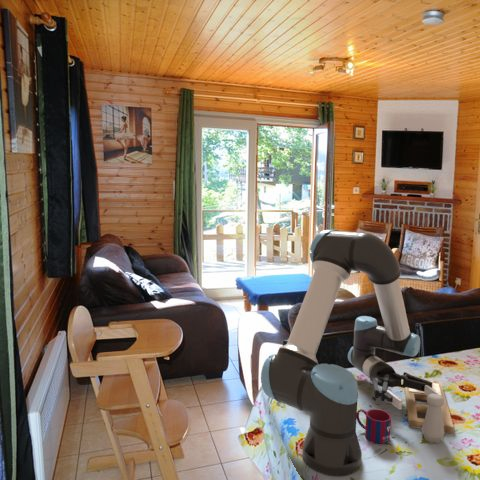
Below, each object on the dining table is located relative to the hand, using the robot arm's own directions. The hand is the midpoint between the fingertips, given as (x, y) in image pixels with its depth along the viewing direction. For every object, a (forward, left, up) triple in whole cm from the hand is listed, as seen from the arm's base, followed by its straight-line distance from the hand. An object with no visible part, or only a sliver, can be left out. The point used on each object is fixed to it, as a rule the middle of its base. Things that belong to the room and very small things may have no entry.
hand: (420, 402), depth 130 cm
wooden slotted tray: (+3, +13, -8) cm, 16 cm away
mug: (-13, -9, -8) cm, 17 cm away
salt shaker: (+3, -6, -8) cm, 10 cm away
